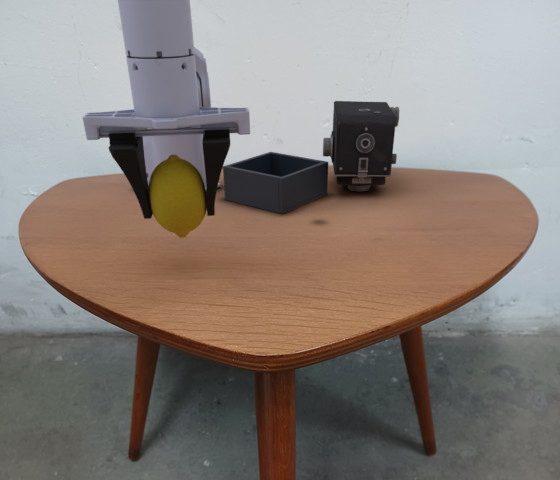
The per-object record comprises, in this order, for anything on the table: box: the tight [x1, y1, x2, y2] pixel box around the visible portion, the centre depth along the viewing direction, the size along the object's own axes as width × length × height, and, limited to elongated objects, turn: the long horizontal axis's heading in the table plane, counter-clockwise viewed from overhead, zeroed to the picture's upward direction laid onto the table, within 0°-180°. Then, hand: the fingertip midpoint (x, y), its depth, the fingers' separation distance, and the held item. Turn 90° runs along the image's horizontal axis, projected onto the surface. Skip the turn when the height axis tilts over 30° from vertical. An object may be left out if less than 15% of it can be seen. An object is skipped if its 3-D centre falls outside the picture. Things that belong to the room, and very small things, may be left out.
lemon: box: [149, 155, 207, 239], centre depth 54 cm, size 6×6×8 cm
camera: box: [322, 100, 400, 192], centre depth 79 cm, size 11×11×15 cm
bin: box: [222, 151, 329, 215], centre depth 76 cm, size 10×10×4 cm
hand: (179, 213), depth 54 cm, fingers closed on lemon, 5 cm apart
